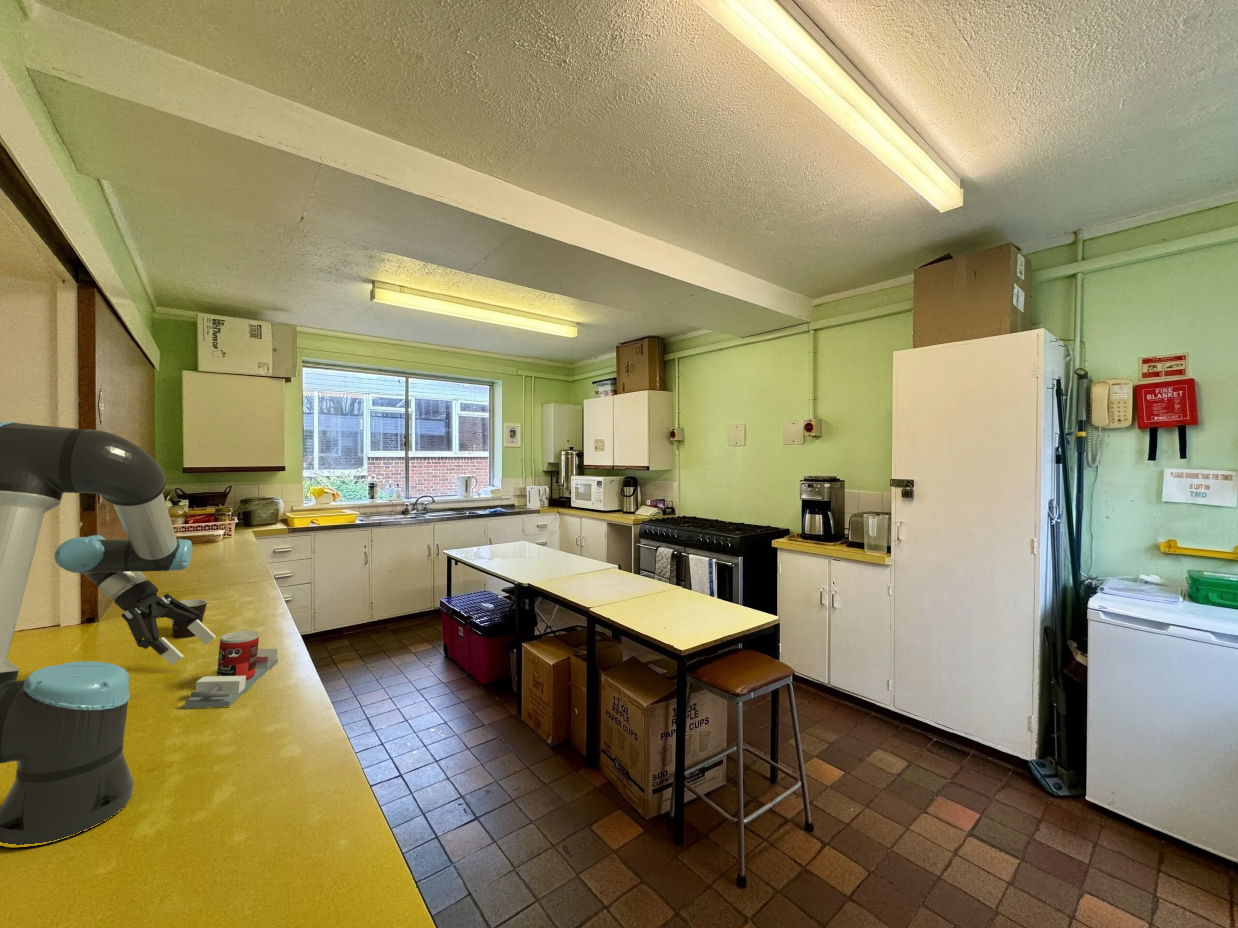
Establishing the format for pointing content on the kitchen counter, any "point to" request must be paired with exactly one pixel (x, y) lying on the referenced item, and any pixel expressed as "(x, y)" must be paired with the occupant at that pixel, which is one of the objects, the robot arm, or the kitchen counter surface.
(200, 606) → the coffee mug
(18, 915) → the kitchen counter surface
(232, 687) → the vise base
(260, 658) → the block
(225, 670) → the canned food
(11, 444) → the robot arm
